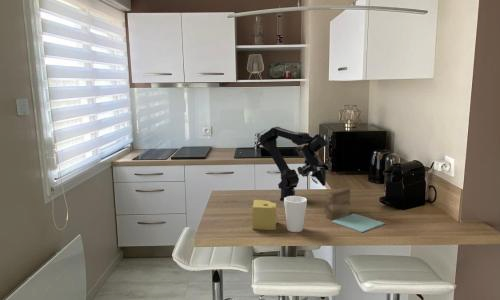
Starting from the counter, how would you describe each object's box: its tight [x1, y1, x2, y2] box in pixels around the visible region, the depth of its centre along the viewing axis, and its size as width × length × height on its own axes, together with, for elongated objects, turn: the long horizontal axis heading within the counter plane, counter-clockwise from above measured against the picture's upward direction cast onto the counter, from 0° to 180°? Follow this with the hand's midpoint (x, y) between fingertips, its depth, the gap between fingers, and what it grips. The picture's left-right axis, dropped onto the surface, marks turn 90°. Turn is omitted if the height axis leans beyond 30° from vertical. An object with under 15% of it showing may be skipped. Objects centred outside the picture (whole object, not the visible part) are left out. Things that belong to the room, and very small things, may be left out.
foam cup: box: [283, 195, 308, 233], centre depth 164 cm, size 10×9×13 cm
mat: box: [331, 213, 385, 233], centre depth 172 cm, size 16×16×1 cm
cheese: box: [251, 199, 278, 231], centre depth 168 cm, size 10×11×10 cm
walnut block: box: [325, 187, 351, 221], centre depth 180 cm, size 4×12×12 cm, turn 129°
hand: (324, 185), depth 187 cm, fingers closed
